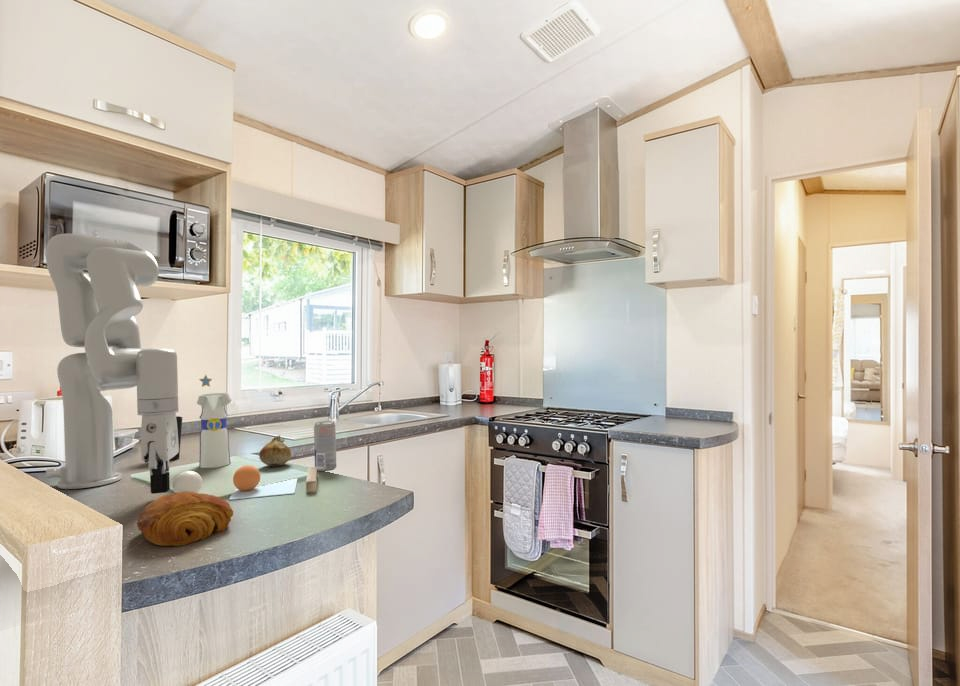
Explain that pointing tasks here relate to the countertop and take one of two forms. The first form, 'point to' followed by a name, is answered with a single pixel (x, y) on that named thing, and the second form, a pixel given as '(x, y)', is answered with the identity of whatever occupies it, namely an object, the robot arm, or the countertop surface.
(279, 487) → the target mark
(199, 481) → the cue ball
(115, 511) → the countertop surface
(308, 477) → the stop rail
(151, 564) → the countertop surface
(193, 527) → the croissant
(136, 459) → the countertop surface
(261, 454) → the onion
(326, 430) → the energy drink
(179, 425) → the cup
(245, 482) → the brown egg
